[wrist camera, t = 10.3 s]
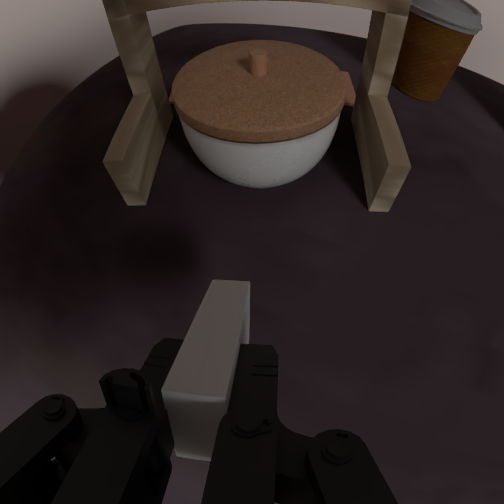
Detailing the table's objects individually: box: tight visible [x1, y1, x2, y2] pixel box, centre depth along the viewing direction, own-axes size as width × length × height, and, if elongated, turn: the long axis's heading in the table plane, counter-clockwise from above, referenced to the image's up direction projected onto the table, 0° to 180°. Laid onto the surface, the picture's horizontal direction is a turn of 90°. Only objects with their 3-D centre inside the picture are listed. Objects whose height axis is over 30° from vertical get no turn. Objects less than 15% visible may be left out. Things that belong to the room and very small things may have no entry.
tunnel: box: [102, 0, 412, 212], centre depth 18 cm, size 19×10×14 cm, turn 87°
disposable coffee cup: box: [392, 0, 482, 101], centre depth 24 cm, size 10×10×12 cm
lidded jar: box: [171, 40, 347, 188], centre depth 20 cm, size 11×11×9 cm
